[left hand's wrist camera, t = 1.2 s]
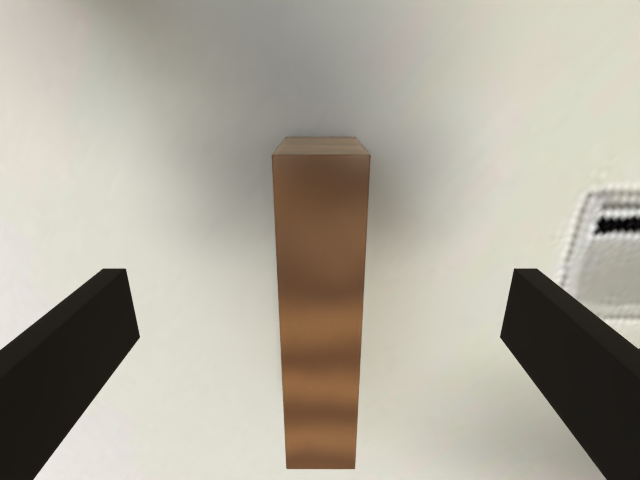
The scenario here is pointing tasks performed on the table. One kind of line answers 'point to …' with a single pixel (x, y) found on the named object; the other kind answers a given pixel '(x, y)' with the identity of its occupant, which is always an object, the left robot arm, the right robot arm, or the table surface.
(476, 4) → the table surface
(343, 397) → the bar
